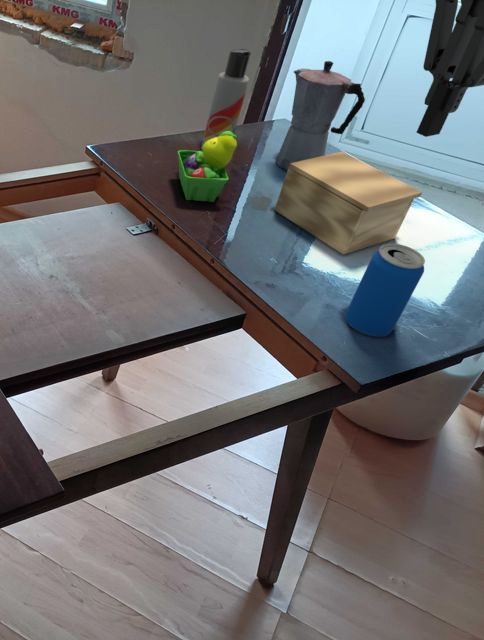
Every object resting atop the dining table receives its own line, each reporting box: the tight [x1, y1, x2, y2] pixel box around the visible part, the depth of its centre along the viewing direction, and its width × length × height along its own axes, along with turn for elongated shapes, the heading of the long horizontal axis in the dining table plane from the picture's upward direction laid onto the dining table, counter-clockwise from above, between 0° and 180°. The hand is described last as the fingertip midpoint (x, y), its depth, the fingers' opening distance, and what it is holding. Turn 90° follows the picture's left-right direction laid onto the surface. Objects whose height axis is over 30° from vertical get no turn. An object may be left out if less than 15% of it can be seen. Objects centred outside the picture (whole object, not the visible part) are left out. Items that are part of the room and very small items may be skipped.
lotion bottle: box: [200, 48, 252, 152], centre depth 133 cm, size 6×6×20 cm
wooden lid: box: [289, 151, 423, 212], centre depth 112 cm, size 16×13×1 cm
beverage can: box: [344, 243, 426, 337], centre depth 94 cm, size 6×6×12 cm
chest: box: [274, 168, 415, 255], centre depth 116 cm, size 16×13×9 cm
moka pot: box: [275, 60, 366, 171], centre depth 130 cm, size 10×15×20 cm, turn 40°
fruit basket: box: [177, 131, 238, 203], centre depth 123 cm, size 11×9×11 cm
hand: (427, 133), depth 90 cm, fingers closed
